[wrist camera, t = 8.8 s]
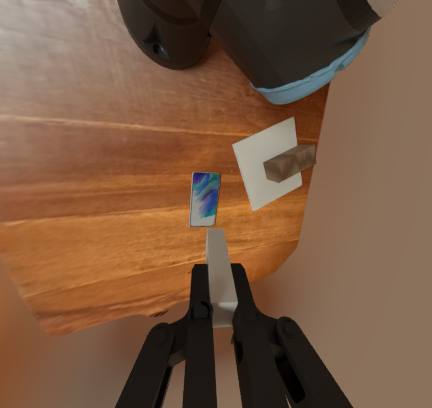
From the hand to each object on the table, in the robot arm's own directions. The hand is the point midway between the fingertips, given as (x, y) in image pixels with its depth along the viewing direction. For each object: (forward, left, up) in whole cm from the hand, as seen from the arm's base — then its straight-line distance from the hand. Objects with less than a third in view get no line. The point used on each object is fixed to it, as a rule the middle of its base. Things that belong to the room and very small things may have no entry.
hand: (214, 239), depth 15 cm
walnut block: (+7, +21, -22) cm, 31 cm away
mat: (+7, +24, -25) cm, 35 cm away
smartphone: (+7, +3, -26) cm, 27 cm away
